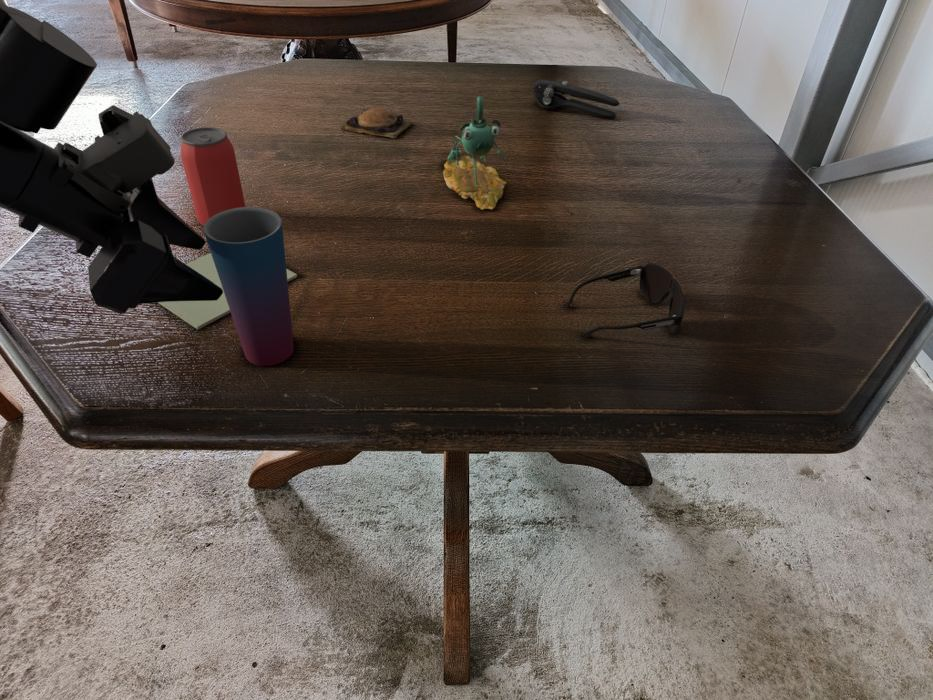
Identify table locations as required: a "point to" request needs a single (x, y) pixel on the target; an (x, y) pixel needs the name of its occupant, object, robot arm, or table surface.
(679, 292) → the sunglasses
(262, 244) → the cup
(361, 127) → the bread roll
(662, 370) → the table surface
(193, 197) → the beer can
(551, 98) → the can opener
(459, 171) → the frog figurine
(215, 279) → the mat
